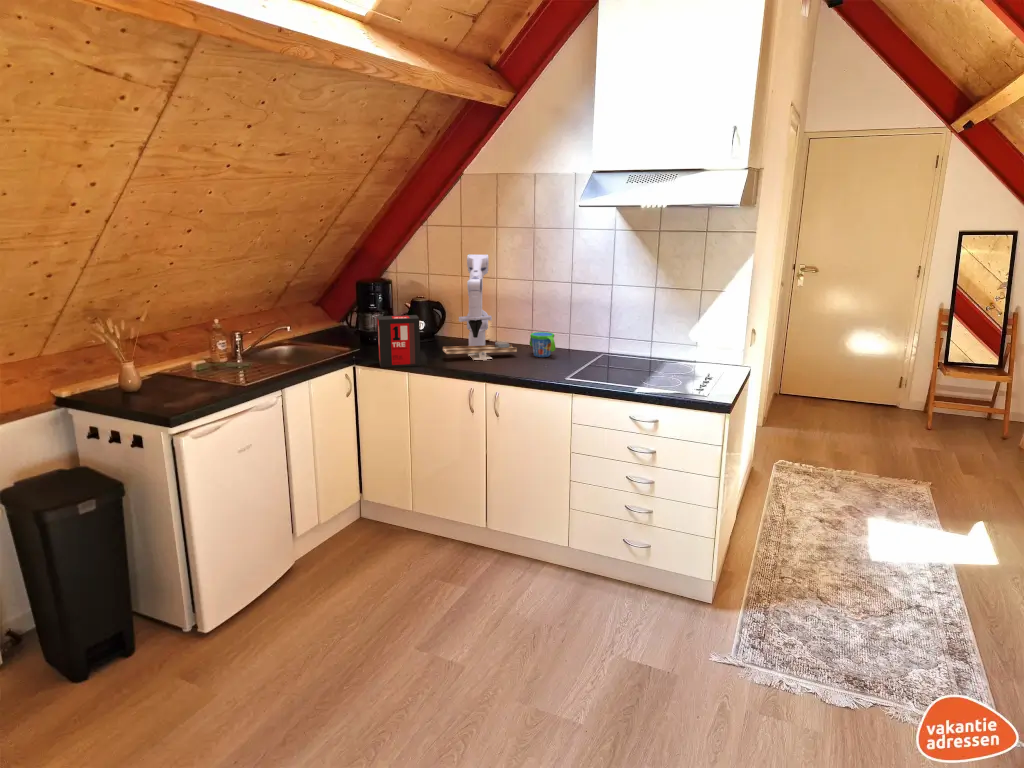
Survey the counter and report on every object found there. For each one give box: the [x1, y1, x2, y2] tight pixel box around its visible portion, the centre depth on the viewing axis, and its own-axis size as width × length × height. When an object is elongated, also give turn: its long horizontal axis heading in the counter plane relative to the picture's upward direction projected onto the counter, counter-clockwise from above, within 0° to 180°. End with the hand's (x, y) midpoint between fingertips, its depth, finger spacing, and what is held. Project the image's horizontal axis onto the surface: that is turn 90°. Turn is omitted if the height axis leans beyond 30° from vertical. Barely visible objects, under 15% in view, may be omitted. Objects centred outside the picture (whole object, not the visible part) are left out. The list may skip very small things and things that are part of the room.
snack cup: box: [529, 331, 556, 358], centre depth 299 cm, size 16×10×10 cm
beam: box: [442, 344, 518, 355], centre depth 294 cm, size 32×7×2 cm, turn 109°
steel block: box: [494, 341, 510, 348], centre depth 297 cm, size 5×5×2 cm
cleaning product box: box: [376, 314, 421, 368], centre depth 280 cm, size 16×9×20 cm, turn 105°
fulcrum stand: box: [467, 352, 493, 361], centre depth 295 cm, size 11×8×4 cm
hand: (475, 337), depth 292 cm, fingers closed
